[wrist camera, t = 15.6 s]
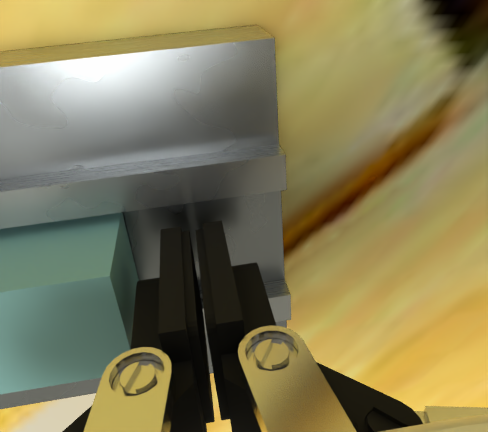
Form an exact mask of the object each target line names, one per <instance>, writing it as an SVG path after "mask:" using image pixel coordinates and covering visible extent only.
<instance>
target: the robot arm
mask: <svg viewBox="0 0 488 432" xmlns="http://www.w3.org/2000/svg"><path fill="white" fill-rule="evenodd" d="M202 225H203V228H202V229H196V230H195V232H196V242H197V251H198V260H199V269H200V279H201V288H202V297H203V306H204V315H205V324H206V331H207V337H208V343H209V349H210V355H211V361H212V367H213V373H214V379H215V385H216V391H217V397H218V403H219V409H220V415H221V420H226V419H230V420H231V427H232V432H488V408H479V407H441V406H425V410H424V411H413V410H412V409H411V408H410V407H408V406H407V405H405V404H403V403H402V402H400V401H398V400H396V399H394V398H392V397H390V396H387V395H385V394H383V393H381V392H379V391H377V390H375V389H372V388H370V387H368V386H366V385H364V384H362V383H360V382H358V381H355V380H353V379H351V378H349V377H347V376H345V375H343V374H340V373H338V372H336V371H334V370H332V369H330V368H328V367H325V366H323V365H321V364H319V363H317V362H316V361H315V360H314V358H313V356H312V355H311V353H310V351H309V349H308V348H307V346H306V344H305V343H304V341H303V340H302V338H301V337H300V336H299V335H298V334H297V333H296V332H294V331H292V330H291V329H288V328H285V327H282V326H276V323H275V319H274V316H273V313H272V309H271V306H270V303H269V300H268V296H267V293H266V290H265V286H264V283H263V280H262V276H261V273H260V270H259V266H258V264H257V262H255V263H248V264H242V265H236V266H231V261H230V256H229V252H228V247H227V242H226V238H225V233H224V228H223V224H222V220H221V221H214V222H207V223H202ZM210 422H214V411H213V401H212V392H211V382H210V373H209V363H208V354H207V344H206V335H205V325H204V316H203V309H202V303H201V297H200V291H199V285H198V279H197V273H196V267H195V261H194V255H193V249H192V243H191V237H190V232H189V231H182V230H181V226H180V227H173V228H167V229H161V230H160V274H159V278H153V279H146V280H140V281H138V282H137V285H136V295H135V306H134V317H133V328H132V338H131V349H130V350H129V351H126V352H124V353H122V354H121V355H119V356H118V357H116V358H115V359H114V360H113V361H112V362H111V363H110V364H109V365H108V366H107V367H106V369H105V371H104V373H103V375H102V378H101V381H100V384H99V387H98V390H97V393H96V396H95V399H94V402H93V405H92V406H91V407H90V408H89V409H88V410H86V411H85V412H84V413H83V414H82V415H81V416H80V417H78V418H77V419H76V420H75V421H74V422H73V423H72V424H71V425H69V426H68V427H67V428H66V429H65V430H64V431H63V432H207V428H206V423H210Z"/></svg>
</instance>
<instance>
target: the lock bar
mask: <svg viewBox="0 0 488 432" xmlns="http://www.w3.org/2000/svg"><path fill="white" fill-rule="evenodd" d="M138 281H139V279H138V275H137V271H136V267H135V263H134V258H133V254H132V250H131V246H130V242H129V238H128V234H127V230H126V226H125V222H124V218H123V213H122V212H121V213H114V214H106V215H99V216H92V217H84V218H77V219H70V220H63V221H55V222H48V223H41V224H33V225H26V226H19V227H11V228H4V229H0V394H6V393H12V392H18V391H24V390H30V389H36V388H42V387H48V386H54V385H60V384H66V383H72V382H78V381H84V380H90V379H96V378H102V375H103V373H104V371H105V369H106V367H107V366H108V365H109V364H110V363H111V362H112V361H113V360H114V359H115V358H116V357H118V356H119V355H121V354H122V353H124V352H126V351H129V350H130V349H131V338H132V328H133V317H134V306H135V295H136V285H137V282H138Z"/></svg>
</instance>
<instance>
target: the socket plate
mask: <svg viewBox="0 0 488 432" xmlns="http://www.w3.org/2000/svg"><path fill="white" fill-rule="evenodd" d="M281 190H287V183H286V155H285V153H284V151H283V150H282V148H281V146H280V145H279V134H278V110H277V86H276V62H275V38H274V37H273V36H271V35H270V34H269V33H267V32H266V31H265V30H263V29H262V28H261V27H259V26H258V25H250V26H241V27H231V28H222V29H212V30H203V31H193V32H183V33H174V34H164V35H155V36H145V37H136V38H126V39H116V40H107V41H97V42H88V43H78V44H69V45H59V46H50V47H40V48H30V49H21V50H11V51H2V52H0V229H4V228H11V227H19V226H26V225H33V224H41V223H48V222H55V221H63V220H70V219H77V218H84V217H92V216H99V215H106V214H114V213H121V212H122V213H123V218H124V222H125V226H126V230H127V234H128V238H129V242H130V246H131V250H132V254H133V258H134V263H135V267H136V271H137V275H138V279H139V281H140V280H146V279H153V278H159V274H160V230H161V229H167V228H173V227H180V226H181V230H182V231H189V232H190V237H191V243H192V249H193V255H194V261H195V267H196V273H197V279H198V285H199V291H200V297H201V303H202V309H203V316H204V325H205V335H206V344H207V354H208V363H209V373H213V367H212V361H211V355H210V349H209V343H208V337H207V331H206V324H205V315H204V306H203V297H202V288H201V279H200V269H199V260H198V251H197V242H196V232H195V230H196V229H202V228H203V225H202V223H207V222H214V221H221V220H222V224H223V228H224V233H225V238H226V242H227V247H228V252H229V256H230V261H231V266H236V265H242V264H248V263H255V262H257V264H258V266H259V270H260V273H261V276H262V280H263V283H264V286H265V290H266V293H267V296H268V300H269V303H270V306H271V309H272V313H273V316H274V319H275V323H276V326H282V327H285V328H287V324H286V320H291V298H290V292H289V290H288V287H287V284H286V281H285V277H284V253H283V229H282V205H281ZM100 381H101V378H96V379H90V380H84V381H78V382H72V383H66V384H60V385H54V386H48V387H42V388H36V389H30V390H24V391H18V392H12V393H6V394H0V409H4V408H10V407H16V406H22V405H28V404H34V403H40V402H46V401H52V400H57V399H63V398H69V397H75V396H81V395H87V394H93V393H97V390H98V387H99V384H100Z"/></svg>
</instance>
